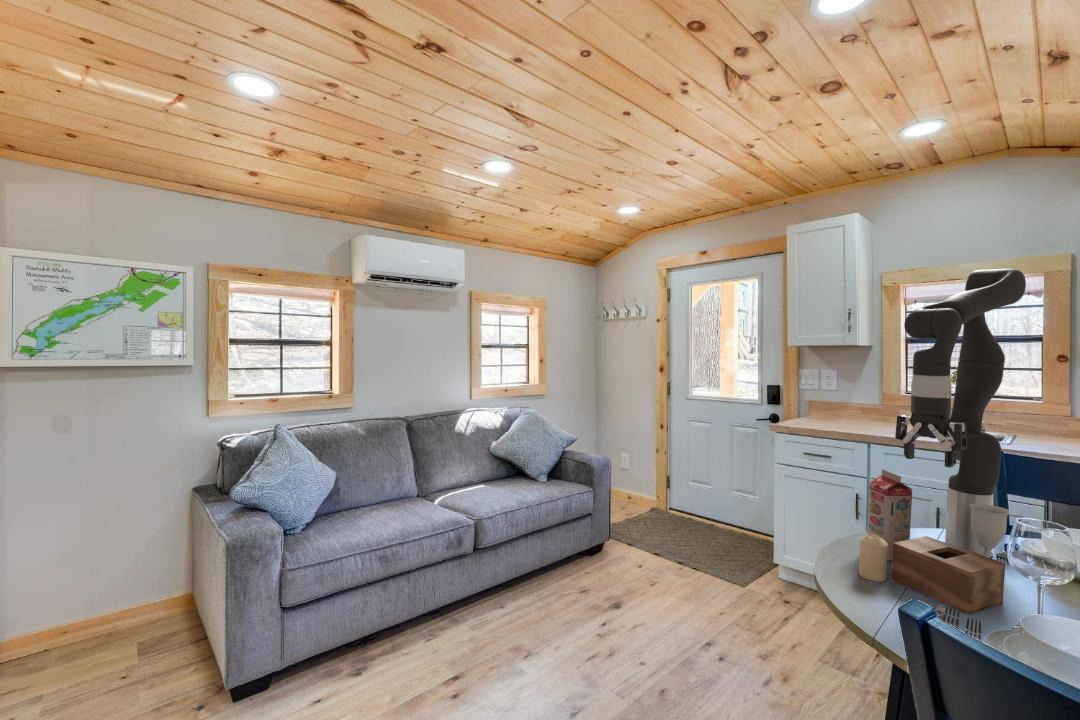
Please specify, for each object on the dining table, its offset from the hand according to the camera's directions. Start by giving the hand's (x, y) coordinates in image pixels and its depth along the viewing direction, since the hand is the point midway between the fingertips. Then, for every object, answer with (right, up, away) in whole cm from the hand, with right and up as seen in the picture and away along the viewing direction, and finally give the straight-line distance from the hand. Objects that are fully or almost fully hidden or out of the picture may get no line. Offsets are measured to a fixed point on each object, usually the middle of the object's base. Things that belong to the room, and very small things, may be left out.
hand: (929, 462), depth 122 cm
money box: (0, -28, -5) cm, 29 cm away
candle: (-12, -28, +2) cm, 30 cm away
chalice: (+12, -28, -1) cm, 31 cm away
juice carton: (0, -27, +14) cm, 31 cm away
